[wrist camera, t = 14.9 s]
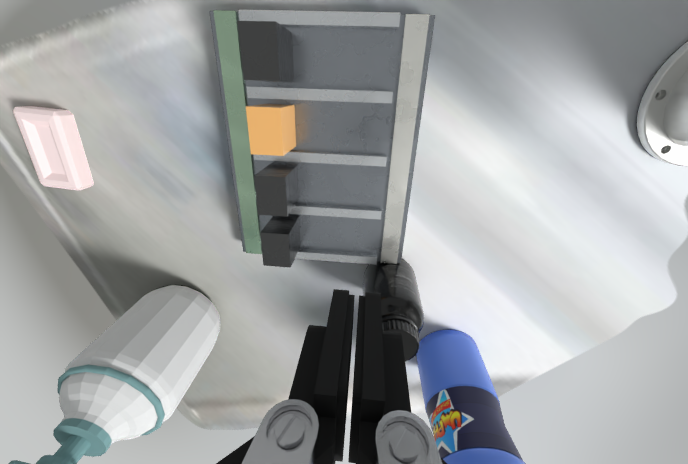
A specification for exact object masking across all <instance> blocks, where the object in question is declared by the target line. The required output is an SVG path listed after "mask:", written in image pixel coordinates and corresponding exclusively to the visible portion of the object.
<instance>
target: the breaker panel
mask: <svg viewBox="0 0 688 464" xmlns="http://www.w3.org/2000/svg"><path fill="white" fill-rule="evenodd" d="M238 11H239V12H236V11H220V10H213V11H210V17H211V25H212V32H213V39H214V46H215V53H216V60H217V67H218V74H219V82H220V89H221V96H222V103H223V110H224V117H225V124H226V132H227V139H228V146H229V153H230V160H231V167H232V174H233V182H234V189H235V196H236V203H237V210H238V217H239V224H240V231H241V239H242V246H243V252H246V253H254V254H262V255H263V264H264V265H266V266H280V267H291V265H292V263H293V261H294V259H307V260H320V261H334V262H348V263H361V264H375V265H377V261H380V262H381V263H391V264H397V263H401V257H402V250H403V243H404V236H405V228H406V221H407V214H408V207H409V200H410V192H411V185H412V178H413V171H414V163H415V156H416V149H417V142H418V135H419V127H420V120H421V113H422V106H423V99H424V91H425V84H426V77H427V70H428V62H429V55H430V48H431V41H432V34H433V26H434V19H435V15H430V14H406V15H400V13H401V12H348V11H293V10H239V9H238ZM260 104H282V105H295V129H296V147H294V148H293V149H292V150H290V151H289V152H288V153H286V154H285V155H284V156H275V155H255V154H251V151H250V142H249V132H248V123H247V114H246V106H253V105H260Z"/></svg>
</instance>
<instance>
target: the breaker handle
mask: <svg viewBox="0 0 688 464" xmlns="http://www.w3.org/2000/svg"><path fill="white" fill-rule="evenodd" d="M246 114H247V123H248V132H249V142H250V151H251V154H255V155H275V156H284V155H285V154H286V153H288V152H289V151H290V150H292V149H293V148H294V147H296V129H295V105H282V104H260V105H253V106H246Z"/></svg>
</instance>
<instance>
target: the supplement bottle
mask: <svg viewBox="0 0 688 464" xmlns="http://www.w3.org/2000/svg"><path fill="white" fill-rule="evenodd" d="M365 292H373V293H381V312H382V332H393V333H401V335H402V341H403V349H404V357H405V361H407V360H410V359H411V358H413V357H414V356H415V355H416V353H418V350H419V345H420V344H419V333H420V331H421V329H422V327H423V324H424V314H423V309H422V304H421V300H420V295H419V291H418V287H417V282H416V278H415V274H414V271H413V269H412V267H411V266H410V265H409V264H408V263H407V262H406V261H404V260H403V259H401V263H397V264H391V263H381V262H380V261H377V265H375V264H370V265H369V266H368V267H367V269H366V271H365V273H364V282H363V296H365Z"/></svg>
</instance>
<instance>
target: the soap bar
mask: <svg viewBox="0 0 688 464" xmlns="http://www.w3.org/2000/svg"><path fill="white" fill-rule="evenodd" d="M13 113H14V115H15V118H16V121H17V123H18V126H19V128H20V131H21V134H22V136H23V139H24V141H25V144H26V147H27V149H28V152H29V154H30V157H31V160H32V162H33V165H34V167H35V170H36V173H37V175H38V178H39V180H40V183H41V184H43V185H44V186H47V187H55V188H63V189H71V190H79V191H80V190H83V189H86V188H89V187H91V186H92V185H93V184H94V182H93V178H92V175H91V172H90V168H89V165H88V162H87V158H86V155H85V152H84V148H83V145H82V141H81V138H80V135H79V131H78V128H77V125H76V121H75V118H74V115H73V114H72V113H71V112H70V111H69V110H63V109H54V108H45V107H36V106H21V107H15V108H14V109H13Z"/></svg>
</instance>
